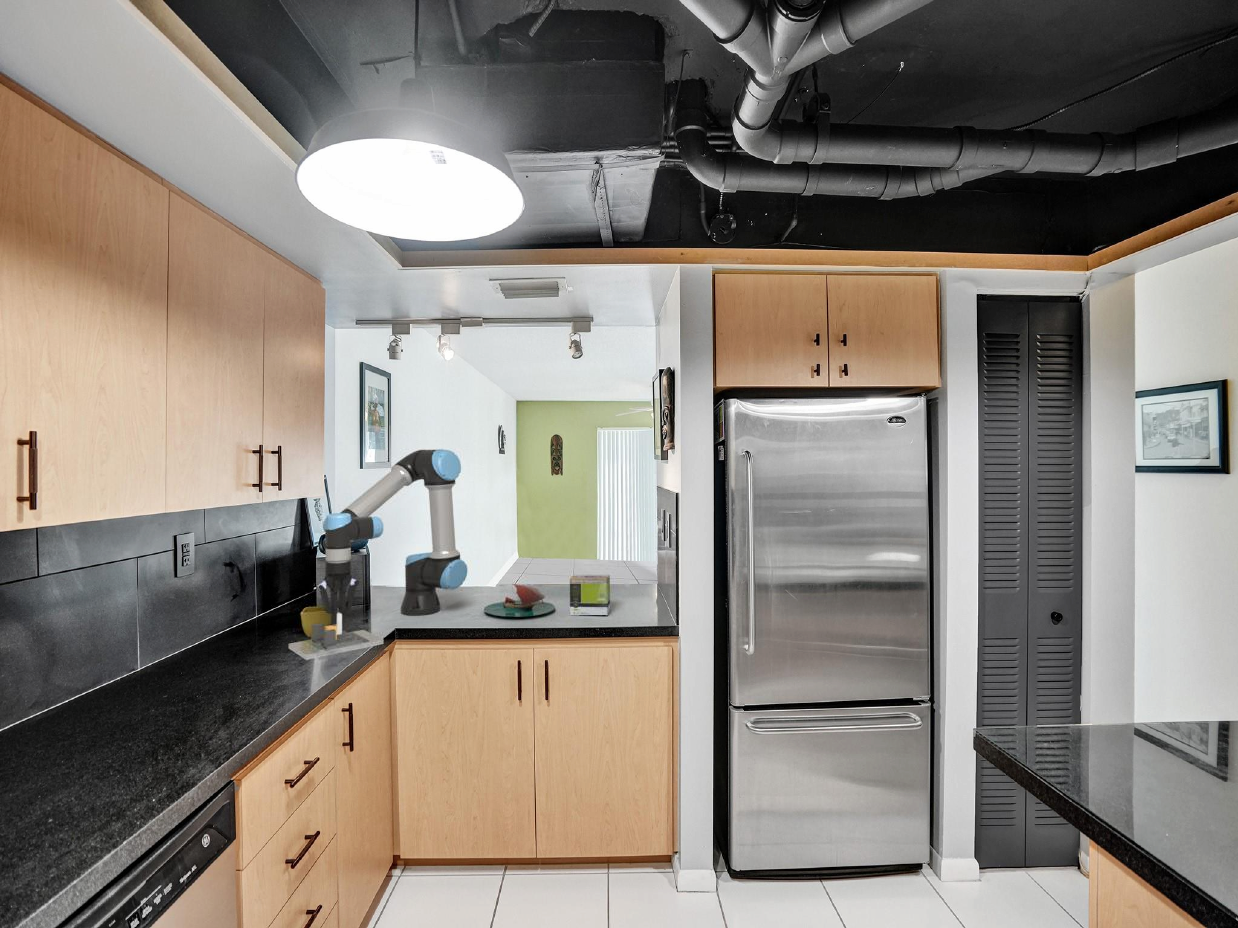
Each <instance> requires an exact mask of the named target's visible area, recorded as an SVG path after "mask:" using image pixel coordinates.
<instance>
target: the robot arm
mask: <svg viewBox="0 0 1238 928" xmlns="http://www.w3.org/2000/svg"><path fill="white" fill-rule="evenodd" d="M461 470H462V466H461V460H460V459H459V456H458V455H457V454H455V452H454V451H452V450H448V449H443V448H442V449H441V448H439V449H438V448H437V449H418V450H415V451H413V452H411V453H409V454H408V455H406V456H405V457H403V458H402V459H400V460H398V461H397V462H395V464H394V465H392V467H391V469H390V471H389V473H387V474H386V475H384V476H383V477H382V478H381V479H379V480H378V481H377V482H376V483H375V484H374V485H373V486H371V487H370V488H369V489H368V490H366V491H365V492H363V494H361V495H360V496H358V498H357V499H355V500H354V501H353V502H351V503H350V504H349V505H348V506H347V507H345V508H344V509H343V510H341V512H339V513H338V512H335V513H329V514H327V515H326V518H325V519H324V521H323V522H322V528H323V531H324V533H325V561H326V562H325V568H324V569H325V576H324V578H323V581H322V582H321V583H317V584H316V588H317V590H318V591H319V593H320V598H321V600H322V601H321V602H322V604H323V605H322V606H324V609H325V612H327V613H329V614H331V623H330V624H332V625H336V626H337V635H339V634H342V631H343V623H345V619H346V618H345V617H346V614H347V612H348V611H351V610H352V604H353V602H354V597H355V593H356V588H357V587H358V585H359V583H360V581H359V580H358V579H354V578H353V576H352V575H351V573H352V572H351V570H352V567H351V566H352V565H351V563H352V561H351V559H352V553H351V550H352V548H351V547H352V542H354V541H365V540H373V539H378V538H380V537H381V536H382V535H383V533H384V523H383V521H382V519H381V518H380V517H377V516H371V515H372V514H374V512H376V511H377V510H378V509H380V508H381V507H382V506H383V505H385V504H386V502H388V501H389V500H390V499H391V498H392V497H393V496H395V495H396V494H397V493H398V492H400V490H401V489H403V488H404V487H409V486H411V484H413V483H414V482H417V481H420V480H423V486H424V487H425V488H426V489H427V490H428V498H429V499H428V500H429V513H430V515H429V516H430V529H431V545H432V552H423V553H415V554H410V555H408V556H406V558H405V564H404V567H405V570H404V576H405V577H404V578H405V580H404V581H405V592H404V593H405V594H404V596H403V600H402V603H401V605H400V614H402V615H406V616H426V615H432V614H436V613H438V612H440V611H441V602H440V600H439V597H438V593H437V589H442V590H452V591H453V590H456V589H458V588H460V587H461V586H462V585H463V584H464V582H465V580H467V579H466V578H467V576H468V565H467V563H465V561H464V560H462V559H461V552H460V551H459V550H458V549H456V548H457V547H456V536H455V535H456V534H455V533H456V531H455V519H454V504H453V487H454V486H455V485H456V479H458V477H459V476H460V474H461V472H462V471H461ZM348 585H349V587H348V591H347V586H348ZM327 587H328V588H329V592H330V600H329V596H328V592H327ZM346 592H347V596H346ZM330 606H331V607H330Z"/></svg>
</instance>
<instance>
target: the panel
mask: <svg viewBox="0 0 1238 928" xmlns="http://www.w3.org/2000/svg"><path fill="white" fill-rule="evenodd" d="M380 645H384V638H382V637H379V636H377V635H376V634H373V633H372V632H369V631H367V630H365V629H361V630H355V631H350V632H347V630H342V634H339V635H337V640H336V644H335V645H330V646H326V648H325V647H324V638H321V639H315V641H313V640H312V637H310V639H307V640H301V641H297V642H291V643H288V649H289V650H290V651H292V652H293V653H295V654H296V655H298V656H300V657H301V658H302V659H304V660H305V661H306V660H308V661H309V660H312V659H317V658H322V657H327V656H331V655H336V654H342V653H346V652H351V651H355V650H361V649H366V648H369V647H374V646H375V647H376V646H380Z"/></svg>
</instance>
